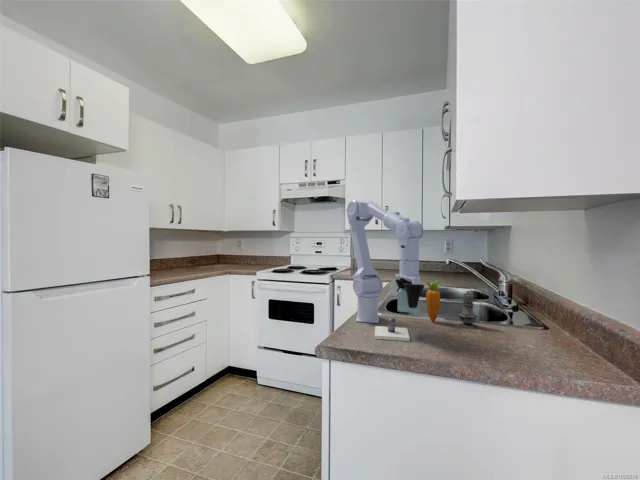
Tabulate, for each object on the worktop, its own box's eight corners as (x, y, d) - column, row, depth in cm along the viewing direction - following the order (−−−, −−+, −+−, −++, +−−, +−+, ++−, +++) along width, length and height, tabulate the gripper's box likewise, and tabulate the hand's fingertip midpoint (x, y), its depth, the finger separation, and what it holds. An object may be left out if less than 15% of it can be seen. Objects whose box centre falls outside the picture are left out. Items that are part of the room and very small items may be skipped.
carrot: (422, 321, 108) (423, 279, 108) (429, 319, 112) (430, 278, 112) (436, 324, 105) (436, 281, 105) (442, 322, 108) (443, 280, 108)
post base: (375, 328, 99) (375, 313, 99) (406, 331, 97) (407, 315, 97) (374, 338, 90) (374, 321, 90) (409, 341, 88) (409, 324, 88)
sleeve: (399, 307, 97) (399, 288, 97) (419, 308, 95) (419, 289, 95) (397, 311, 92) (397, 291, 92) (418, 313, 90) (418, 292, 90)
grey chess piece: (478, 328, 100) (478, 292, 100) (459, 327, 102) (459, 291, 102) (475, 324, 106) (476, 289, 106) (457, 322, 108) (457, 288, 108)
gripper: (390, 258, 101) (390, 299, 101) (402, 262, 86) (402, 309, 86) (411, 258, 101) (411, 299, 101) (427, 262, 86) (426, 310, 86)
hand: (408, 304), depth 94 cm, fingers closed on sleeve, 7 cm apart
